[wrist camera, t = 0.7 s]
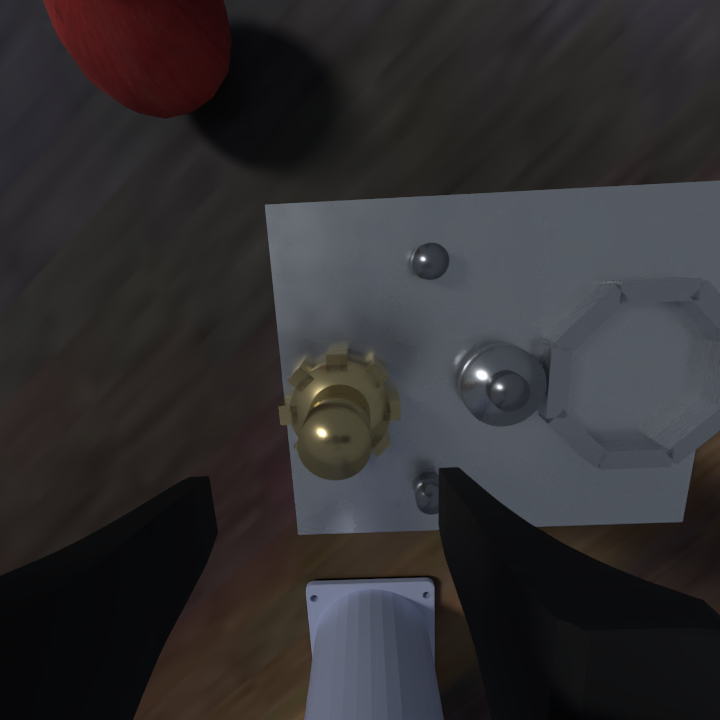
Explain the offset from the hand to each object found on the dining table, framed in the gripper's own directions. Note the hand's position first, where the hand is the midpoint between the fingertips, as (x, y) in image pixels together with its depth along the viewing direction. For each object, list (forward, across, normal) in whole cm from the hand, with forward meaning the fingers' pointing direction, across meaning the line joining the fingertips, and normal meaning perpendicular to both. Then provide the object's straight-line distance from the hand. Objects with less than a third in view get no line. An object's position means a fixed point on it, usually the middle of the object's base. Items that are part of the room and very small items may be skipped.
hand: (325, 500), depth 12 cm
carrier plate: (+10, -8, -1) cm, 13 cm away
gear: (+9, 0, 0) cm, 9 cm away
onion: (+10, +6, -16) cm, 20 cm away
